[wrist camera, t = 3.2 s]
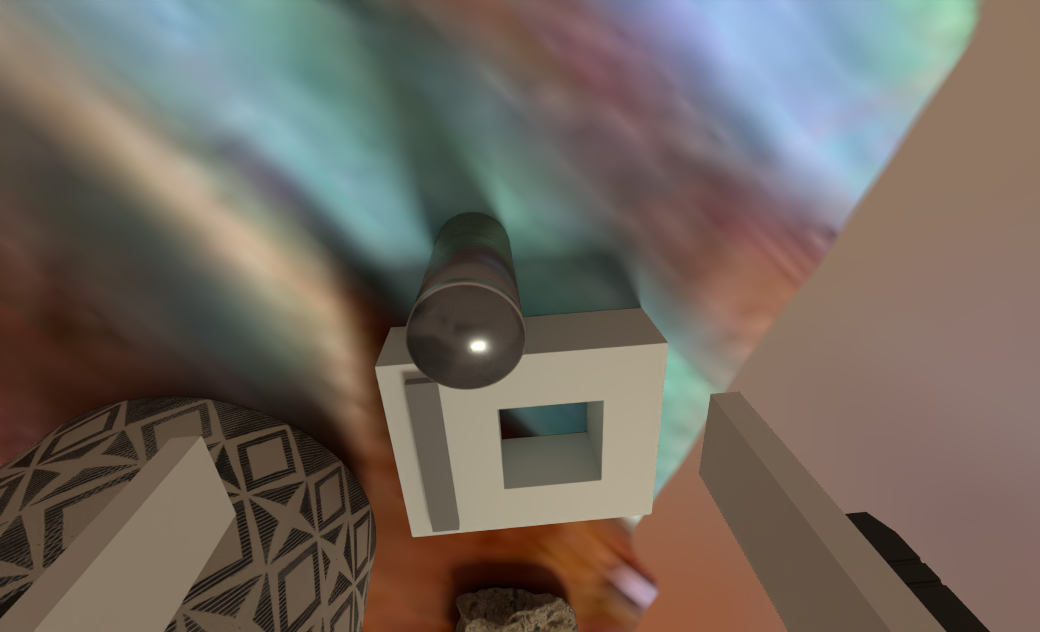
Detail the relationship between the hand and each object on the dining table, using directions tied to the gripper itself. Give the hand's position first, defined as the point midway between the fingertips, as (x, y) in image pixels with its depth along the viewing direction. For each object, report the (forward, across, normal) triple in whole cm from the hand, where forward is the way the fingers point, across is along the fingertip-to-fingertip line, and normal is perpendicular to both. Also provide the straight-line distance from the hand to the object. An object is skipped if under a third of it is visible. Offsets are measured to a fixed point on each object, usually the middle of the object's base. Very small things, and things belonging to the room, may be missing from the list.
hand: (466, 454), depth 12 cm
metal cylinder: (+18, 0, 0) cm, 18 cm away
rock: (+19, 0, -37) cm, 41 cm away
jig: (+18, +2, -12) cm, 22 cm away
